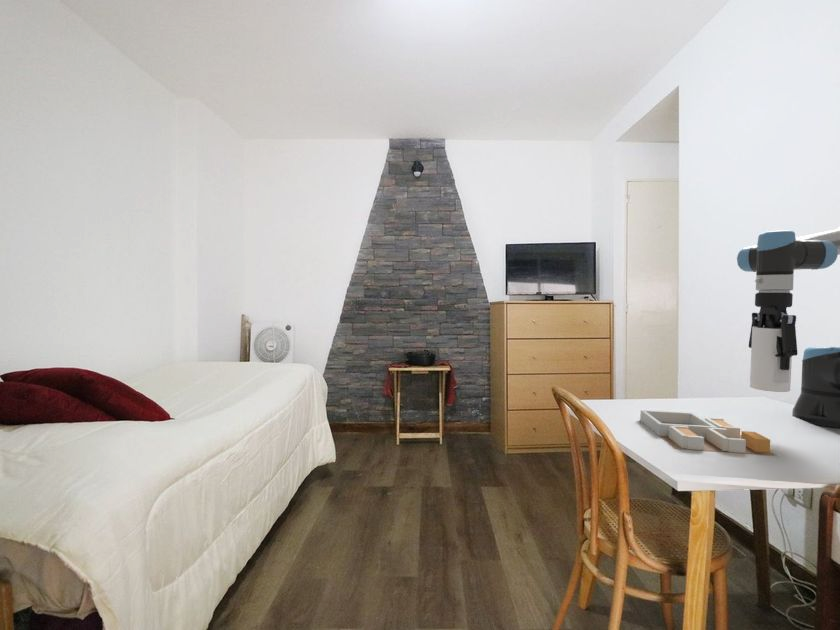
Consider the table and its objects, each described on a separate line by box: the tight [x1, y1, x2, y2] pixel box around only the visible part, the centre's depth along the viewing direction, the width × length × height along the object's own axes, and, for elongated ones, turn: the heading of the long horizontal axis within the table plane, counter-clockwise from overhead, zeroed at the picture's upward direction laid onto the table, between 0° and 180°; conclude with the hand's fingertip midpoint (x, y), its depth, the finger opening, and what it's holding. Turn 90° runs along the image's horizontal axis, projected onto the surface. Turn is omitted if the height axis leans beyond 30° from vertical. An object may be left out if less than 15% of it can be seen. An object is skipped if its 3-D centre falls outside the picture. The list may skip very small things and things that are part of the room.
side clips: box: [669, 417, 741, 451], centre depth 112 cm, size 18×19×3 cm
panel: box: [645, 422, 778, 457], centre depth 114 cm, size 22×24×1 cm
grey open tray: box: [706, 428, 746, 454], centre depth 107 cm, size 4×9×3 cm, turn 171°
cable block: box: [740, 430, 771, 452], centre depth 105 cm, size 3×6×3 cm, turn 171°
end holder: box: [639, 409, 718, 438], centre depth 119 cm, size 14×14×3 cm
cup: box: [749, 326, 793, 393], centre depth 113 cm, size 8×8×16 cm
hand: (770, 378), depth 113 cm, fingers closed on cup, 8 cm apart
